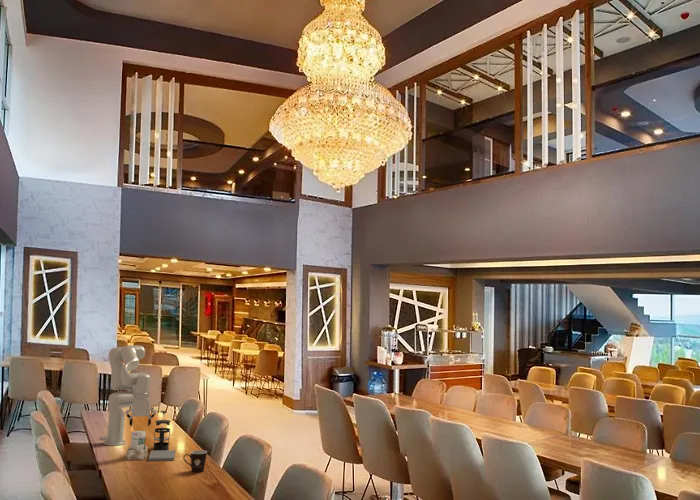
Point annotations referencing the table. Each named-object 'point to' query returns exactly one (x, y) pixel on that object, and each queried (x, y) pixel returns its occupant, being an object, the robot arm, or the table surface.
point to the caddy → (136, 454)
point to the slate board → (162, 455)
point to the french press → (162, 435)
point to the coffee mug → (197, 460)
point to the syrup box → (138, 440)
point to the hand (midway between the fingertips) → (139, 425)
